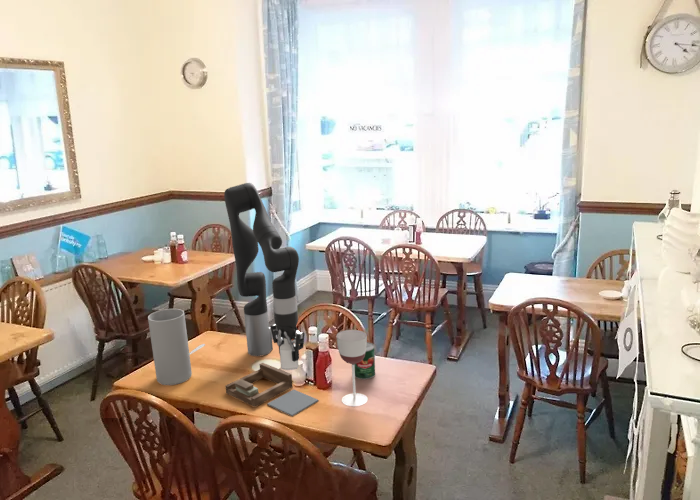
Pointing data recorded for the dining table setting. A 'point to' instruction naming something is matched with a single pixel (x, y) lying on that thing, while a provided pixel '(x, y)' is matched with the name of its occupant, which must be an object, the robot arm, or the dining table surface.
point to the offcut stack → (246, 388)
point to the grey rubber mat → (293, 402)
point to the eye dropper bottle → (287, 357)
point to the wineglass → (352, 359)
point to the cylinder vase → (170, 346)
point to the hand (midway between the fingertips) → (289, 358)
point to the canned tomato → (366, 364)
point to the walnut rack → (270, 374)
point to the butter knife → (197, 348)
